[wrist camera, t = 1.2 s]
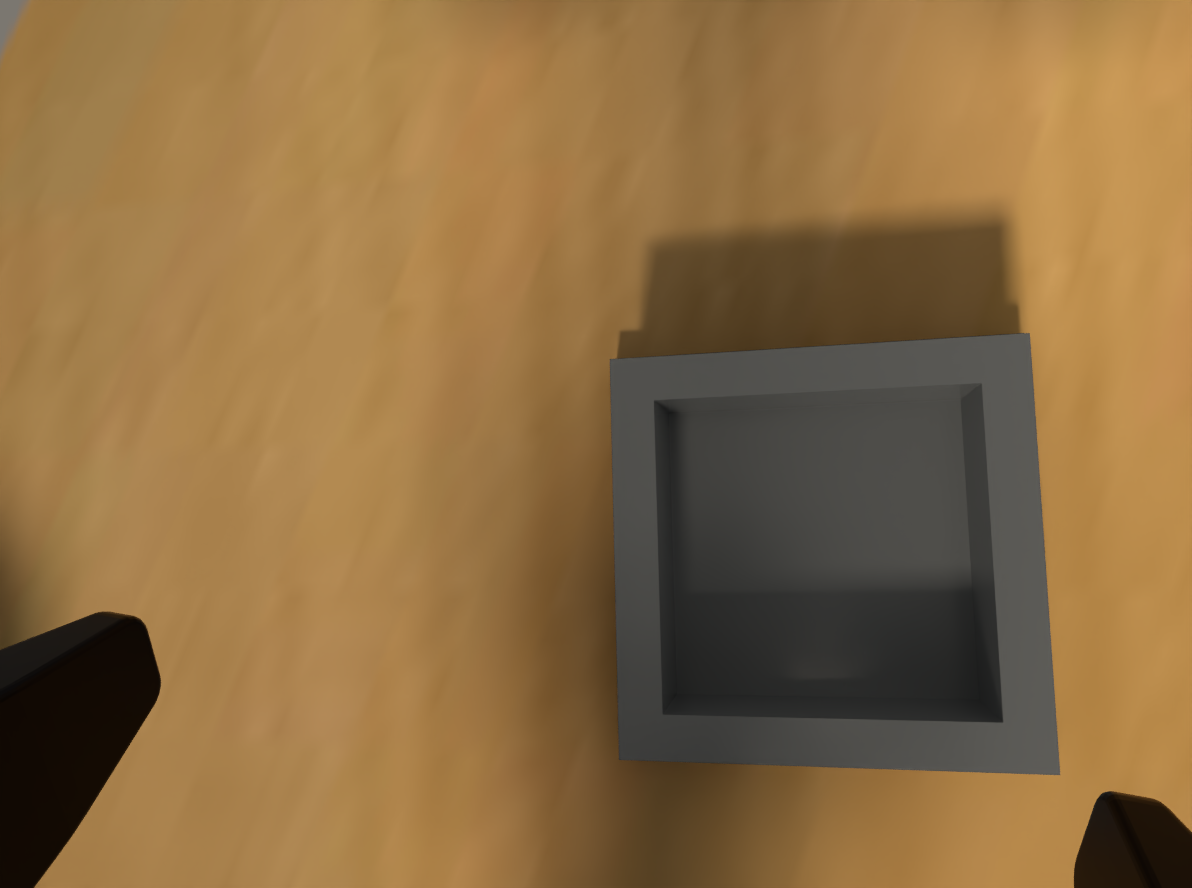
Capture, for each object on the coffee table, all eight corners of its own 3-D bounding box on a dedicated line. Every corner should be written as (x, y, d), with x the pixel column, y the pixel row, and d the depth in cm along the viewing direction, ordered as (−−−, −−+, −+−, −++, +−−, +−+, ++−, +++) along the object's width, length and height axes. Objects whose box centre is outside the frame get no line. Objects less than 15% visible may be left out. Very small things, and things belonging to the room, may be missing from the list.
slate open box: (1044, 760, 21) (1089, 802, 18) (625, 746, 23) (597, 782, 20) (1016, 339, 22) (1054, 308, 19) (615, 364, 24) (588, 340, 21)
